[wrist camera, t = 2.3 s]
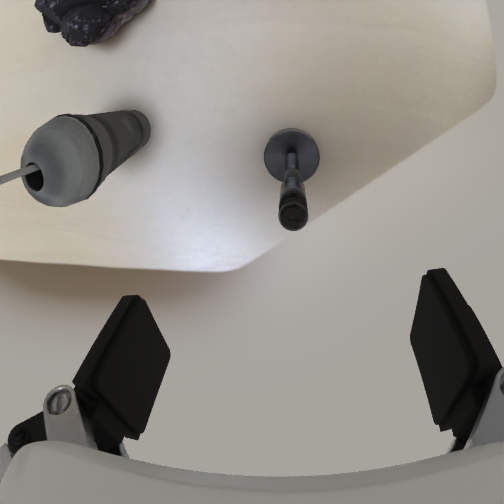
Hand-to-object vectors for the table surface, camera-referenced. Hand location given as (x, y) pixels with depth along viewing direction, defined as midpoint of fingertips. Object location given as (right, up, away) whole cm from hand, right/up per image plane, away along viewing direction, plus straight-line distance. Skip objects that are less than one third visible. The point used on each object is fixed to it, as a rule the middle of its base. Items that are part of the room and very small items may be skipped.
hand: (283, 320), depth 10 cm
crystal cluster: (-17, +30, +11) cm, 36 cm away
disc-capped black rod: (+3, +12, +19) cm, 23 cm away
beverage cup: (-14, +15, +19) cm, 28 cm away
